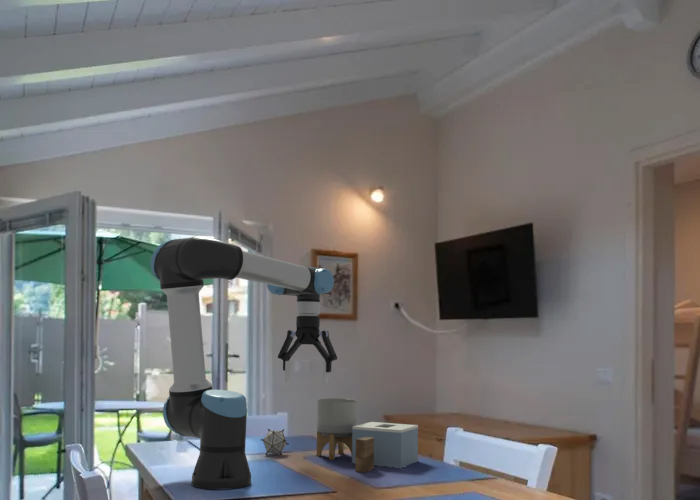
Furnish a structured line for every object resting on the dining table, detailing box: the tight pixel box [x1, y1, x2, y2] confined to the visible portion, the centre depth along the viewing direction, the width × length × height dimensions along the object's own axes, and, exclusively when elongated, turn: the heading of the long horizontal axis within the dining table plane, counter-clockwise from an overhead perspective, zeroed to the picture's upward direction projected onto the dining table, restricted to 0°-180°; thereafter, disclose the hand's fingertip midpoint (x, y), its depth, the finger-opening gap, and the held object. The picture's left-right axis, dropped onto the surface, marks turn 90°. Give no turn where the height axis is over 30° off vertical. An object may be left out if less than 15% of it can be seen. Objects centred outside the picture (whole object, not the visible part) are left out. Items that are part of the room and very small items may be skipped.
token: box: [355, 437, 375, 473], centre depth 204 cm, size 3×6×9 cm, turn 154°
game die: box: [260, 428, 289, 456], centre depth 230 cm, size 9×8×10 cm
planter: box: [316, 397, 358, 461], centre depth 228 cm, size 13×13×18 cm
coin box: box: [351, 421, 419, 469], centre depth 218 cm, size 14×16×11 cm
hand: (306, 382), depth 225 cm, fingers open, 13 cm apart
